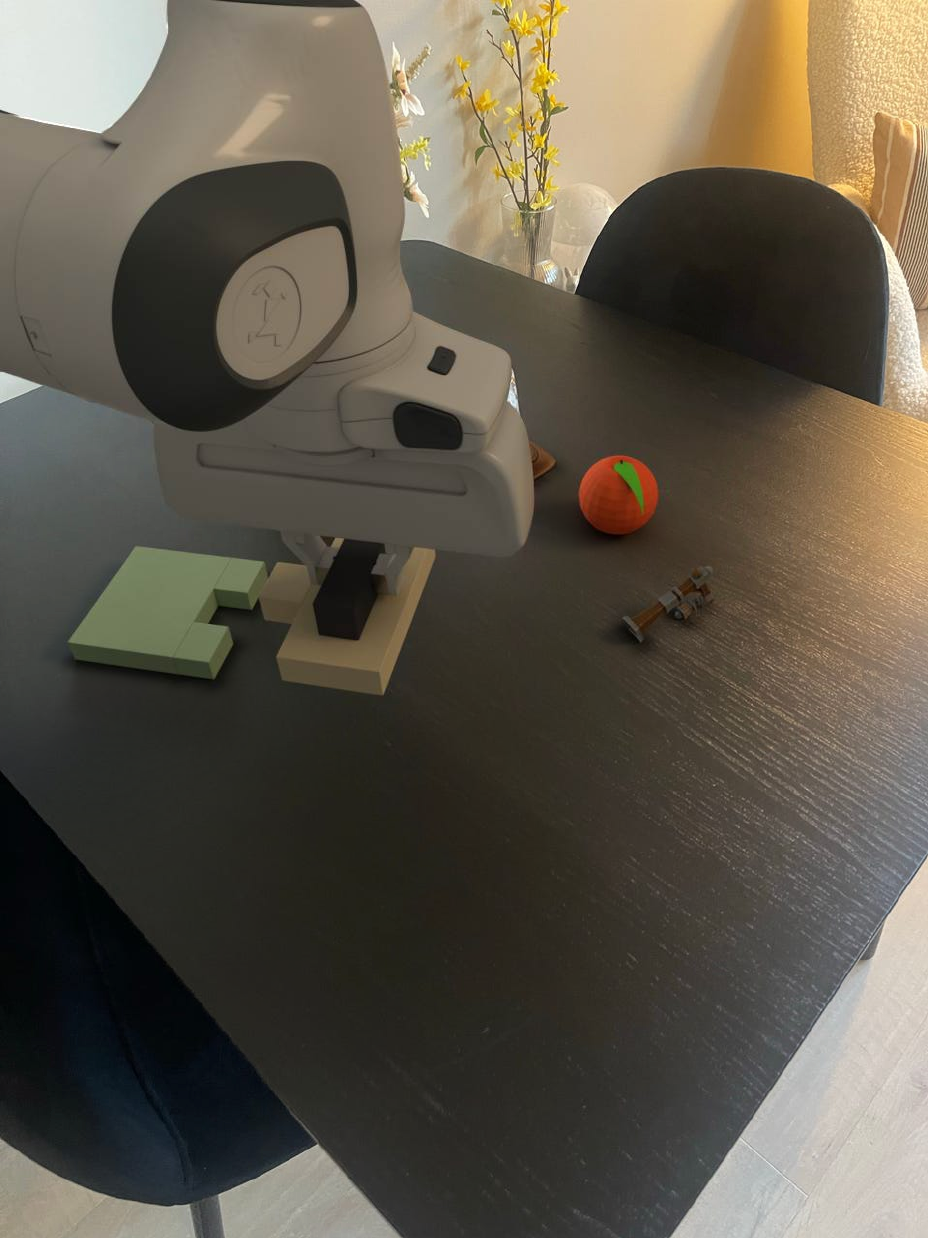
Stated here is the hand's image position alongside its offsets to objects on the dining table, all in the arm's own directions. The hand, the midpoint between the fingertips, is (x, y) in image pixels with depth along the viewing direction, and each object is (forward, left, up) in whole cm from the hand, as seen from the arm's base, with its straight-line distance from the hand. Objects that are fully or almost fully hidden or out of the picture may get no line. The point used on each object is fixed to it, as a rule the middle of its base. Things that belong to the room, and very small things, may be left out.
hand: (358, 583), depth 56 cm
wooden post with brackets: (+18, -19, -18) cm, 32 cm away
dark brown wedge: (+40, +3, -18) cm, 44 cm away
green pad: (+11, +21, -18) cm, 30 cm away
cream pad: (0, +1, -3) cm, 3 cm away
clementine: (+29, -14, -18) cm, 37 cm away
